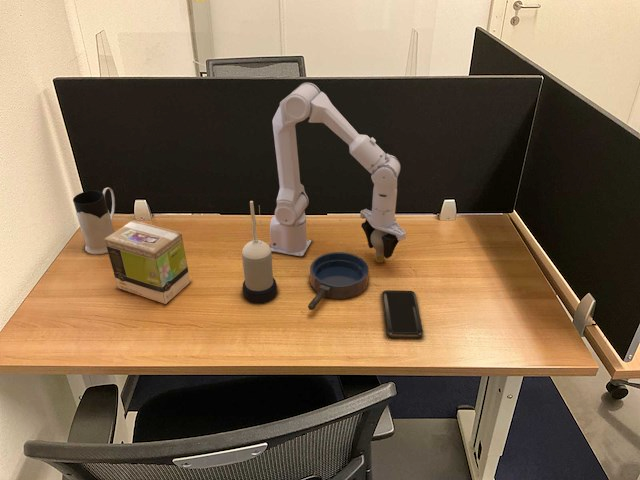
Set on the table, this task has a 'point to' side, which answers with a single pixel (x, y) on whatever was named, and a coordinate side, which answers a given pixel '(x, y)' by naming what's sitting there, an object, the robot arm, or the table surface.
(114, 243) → the tea box
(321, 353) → the table surface
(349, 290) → the pan
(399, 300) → the phone
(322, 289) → the pan handle
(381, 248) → the light bulb
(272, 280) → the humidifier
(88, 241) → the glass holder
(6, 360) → the table surface
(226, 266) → the table surface
